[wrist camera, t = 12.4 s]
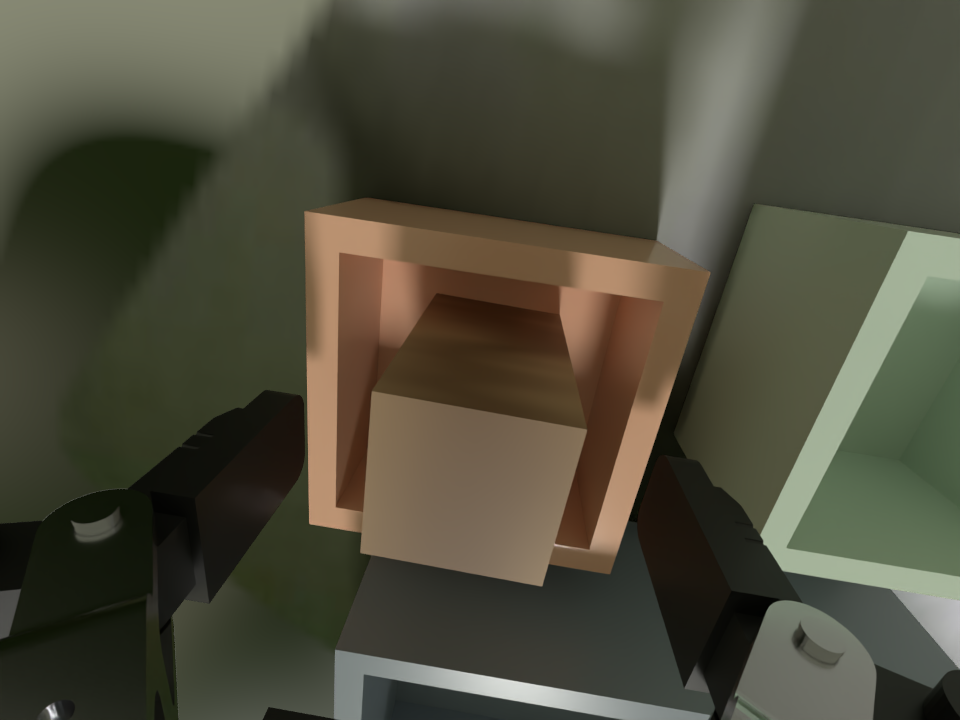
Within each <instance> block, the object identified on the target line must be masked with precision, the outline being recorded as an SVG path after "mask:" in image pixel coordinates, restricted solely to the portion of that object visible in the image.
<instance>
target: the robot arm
mask: <svg viewBox="0 0 960 720" xmlns="http://www.w3.org/2000/svg"><path fill="white" fill-rule="evenodd" d="M304 457H305V435H304V402H303V399H302V397H301V396H300V395H295V394H289V393H282V392H276V391H270V390H265V391H263V392H262V393H261V394H260V395H258V396H257V397H256V398H255V399H254V400H253V401H252V402H250V403H249V404H248V405H247V406H246V407H245V408H244V409H242V408H235V409H233V410H231V411H229V412H226V413H224V414H222V415H219V416H217V417H215V418H213V419H212V420H211V421H209V422H208V423H207V424H206V425H205V426H203V427H202V428H201V429H200V430H198V431H197V434H196V435H192V436H191V437H190V438H189V439H188V440H186V441H185V442H184V443H183V445H182V447H178V448H177V449H175V450H174V451H173V452H172V453H171V454H169V455H168V456H167V457H166V458H165V459H163V460H162V461H161V462H160V463H158V464H157V465H156V466H155V467H154V468H152V469H151V470H150V471H149V472H148V473H146V474H145V475H144V476H143V477H141V478H140V479H139V480H138V481H137V482H135V483H134V484H133V485H132V486H131V487H129V488H128V489H109V490H103V491H98V492H94V493H90V494H87V495H84V496H81V497H79V498H77V499H74V500H72V501H70V502H68V503H66V504H64V505H62V506H61V507H59V508H58V509H56V510H54V511H53V512H52V513H51V514H49V515H48V516H47V517H46V518H45V519H44V520H43V521H32V522H17V523H5V524H4V523H3V524H0V720H179V716H178V697H177V696H178V695H177V677H176V676H177V675H176V657H175V636H174V622H173V617H172V615H173V613H174V612H175V611H176V610H177V608H178V607H179V606H180V604H181V603H182V602H183V600H184V599H186V600H191V601H197V602H203V603H208V604H209V603H210V602H211V600H212V599H213V598H214V596H215V595H216V593H217V592H218V591H219V589H220V588H221V586H222V585H223V584H224V582H225V581H226V579H227V578H228V577H229V575H230V574H231V572H232V571H233V570H234V568H235V567H236V565H237V564H238V563H239V561H240V560H241V558H242V557H243V556H244V554H245V553H246V551H247V550H248V549H249V547H250V546H251V544H252V543H253V542H254V540H255V539H256V537H257V536H258V535H259V533H260V532H261V530H262V529H263V528H264V526H265V525H266V523H267V522H268V521H269V519H270V518H271V516H272V515H273V514H274V512H275V511H276V509H277V508H278V507H279V505H280V504H281V502H282V501H283V500H284V498H285V497H286V495H287V494H288V492H289V491H290V490H291V488H292V487H293V485H294V484H295V483H296V481H297V480H298V478H299V476H300V473H301V470H302V467H303V463H304ZM637 532H638V538H639V542H640V545H641V549H642V552H643V555H644V558H645V562H646V565H647V568H648V572H649V575H650V578H651V581H652V585H653V588H654V591H655V595H656V598H657V601H658V604H659V608H660V611H661V614H662V618H663V621H664V624H665V627H666V631H667V634H668V637H669V641H670V644H671V647H672V650H673V654H674V657H675V660H676V663H677V667H678V670H679V673H680V677H681V680H682V683H683V686H684V689H689V690H694V691H700V692H706V693H710V695H711V698H712V700H713V703H714V706H715V708H714V710H713V712H712V713H711V715H710V717H709V719H708V720H960V670H952V671H949V672H947V673H946V674H945V675H944V676H943V677H942V678H941V680H940V681H939V682H938V683H937V685H936V686H935V687H934V688H931V687H928V686H926V685H923V684H921V683H919V682H916V681H914V680H912V679H909V678H907V677H904V676H902V675H900V674H897V673H895V672H893V671H890V670H888V669H885V668H883V667H881V666H878V665H876V664H874V663H873V661H872V659H871V657H870V655H869V653H868V652H867V650H866V649H865V647H864V646H863V645H862V644H861V643H860V641H859V640H858V639H857V638H856V637H855V636H854V635H853V634H852V633H851V632H850V631H849V630H848V629H846V628H845V627H844V626H843V625H842V624H840V623H839V622H837V621H836V620H835V619H833V618H832V617H830V616H829V615H827V614H825V613H824V612H822V611H820V610H818V609H816V608H814V607H811V606H809V605H806V604H803V602H802V601H801V599H800V598H799V596H798V594H797V593H796V591H795V590H794V588H793V587H792V585H791V583H790V582H789V580H788V579H787V577H786V575H785V574H784V572H783V571H782V569H781V568H780V566H779V564H778V563H777V561H776V560H775V558H774V557H773V555H772V553H771V552H770V550H769V549H768V547H767V545H764V544H763V542H764V541H763V539H762V538H761V536H760V534H759V533H758V531H757V530H756V529H755V528H753V523H752V522H751V520H750V519H749V517H748V515H747V514H746V512H745V511H744V509H743V508H742V506H741V505H740V504H739V503H738V502H737V501H736V500H734V499H733V498H732V497H731V496H730V495H729V494H728V493H727V492H726V491H724V490H723V489H722V488H721V487H715V486H713V484H712V482H711V481H710V479H709V477H708V475H707V474H706V472H705V470H704V469H703V467H702V465H701V464H700V462H698V461H697V460H692V459H686V458H680V457H673V456H667V455H661V456H659V457H658V459H657V461H656V463H655V465H654V468H653V471H652V474H651V477H650V480H649V483H648V486H647V489H646V492H645V495H644V498H643V500H642V503H641V506H640V509H639V514H638V521H637ZM263 720H337V719H331V718H325V717H320V716H315V715H309V714H303V713H298V712H293V711H287V710H282V709H276V708H270V707H269V708H268V710H267V712H266V714H265V716H264V718H263Z"/></svg>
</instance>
